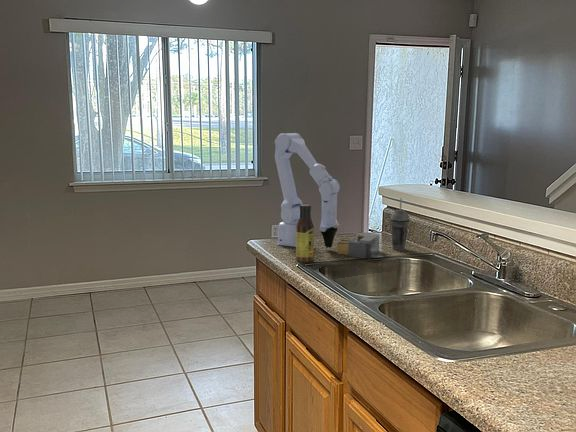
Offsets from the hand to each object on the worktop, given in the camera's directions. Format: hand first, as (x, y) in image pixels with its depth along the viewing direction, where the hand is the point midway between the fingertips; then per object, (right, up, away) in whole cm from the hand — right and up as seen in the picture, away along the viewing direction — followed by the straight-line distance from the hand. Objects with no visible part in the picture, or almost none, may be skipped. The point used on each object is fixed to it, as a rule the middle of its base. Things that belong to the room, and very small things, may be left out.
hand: (328, 246), depth 213 cm
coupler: (+13, -2, -5) cm, 14 cm away
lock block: (+6, -2, -3) cm, 7 cm away
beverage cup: (+27, -1, +2) cm, 27 cm away
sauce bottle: (-10, -4, -16) cm, 19 cm away
